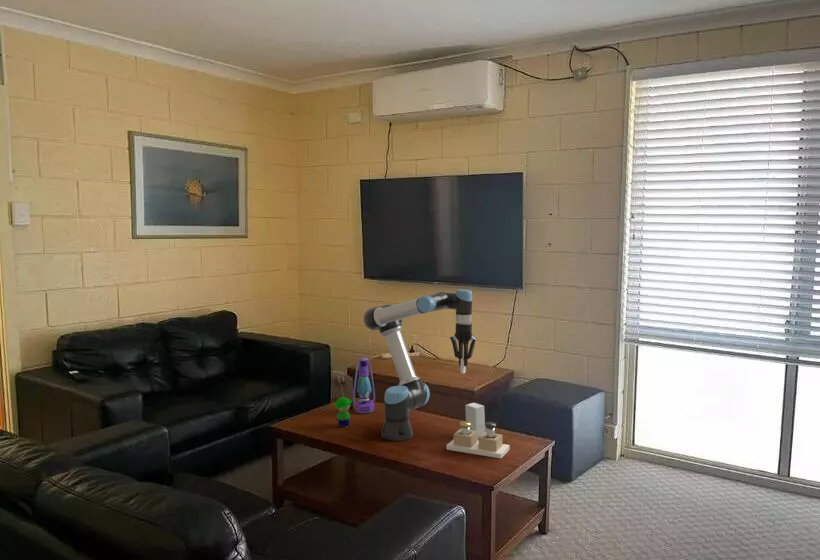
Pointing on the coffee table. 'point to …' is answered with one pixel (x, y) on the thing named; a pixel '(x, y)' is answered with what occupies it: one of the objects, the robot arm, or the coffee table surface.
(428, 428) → the coffee table surface
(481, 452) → the socket board
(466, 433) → the plug brass
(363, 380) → the lantern
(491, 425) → the plug black
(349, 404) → the toy
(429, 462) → the coffee table surface
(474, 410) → the skincare box
